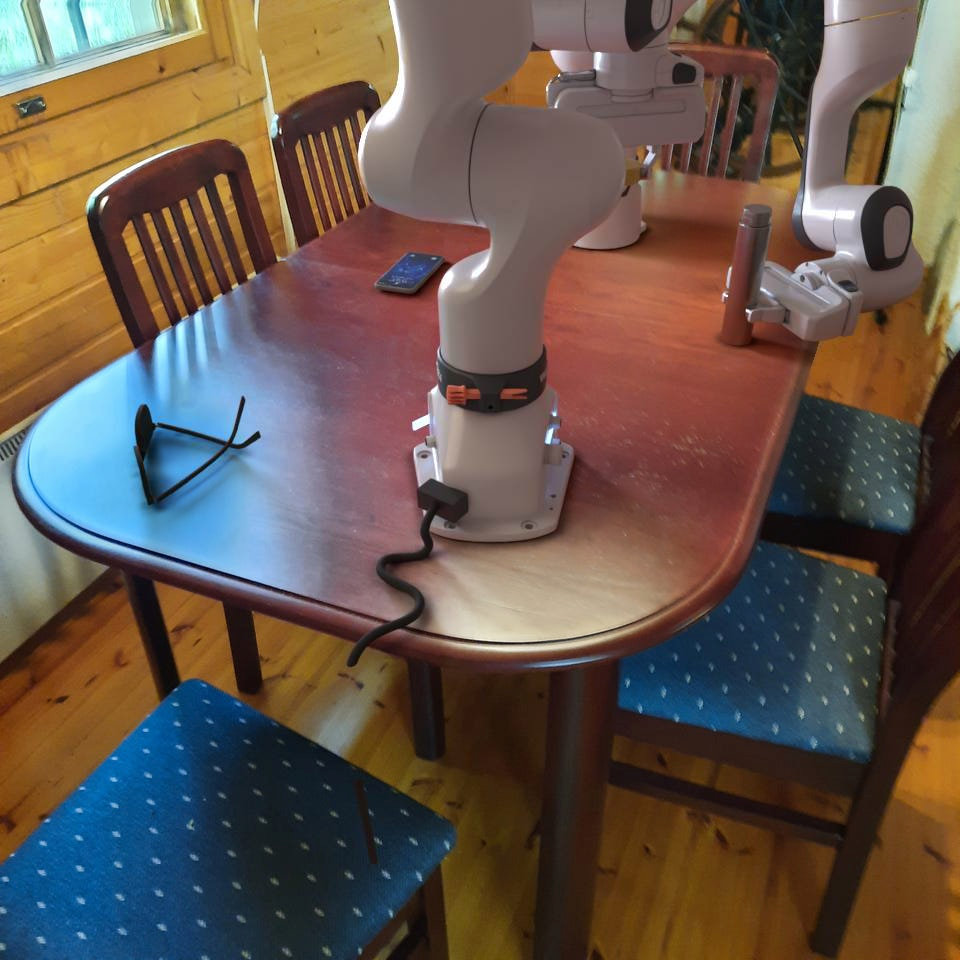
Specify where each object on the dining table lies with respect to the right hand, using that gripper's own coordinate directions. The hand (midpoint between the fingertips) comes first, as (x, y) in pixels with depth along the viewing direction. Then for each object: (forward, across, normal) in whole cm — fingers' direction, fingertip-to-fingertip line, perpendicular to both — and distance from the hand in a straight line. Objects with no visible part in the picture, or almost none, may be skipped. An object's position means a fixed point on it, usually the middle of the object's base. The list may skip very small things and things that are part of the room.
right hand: (735, 307), depth 120 cm
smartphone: (+36, -40, +5) cm, 54 cm away
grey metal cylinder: (-1, 0, +5) cm, 5 cm away
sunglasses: (+74, +2, +5) cm, 74 cm away
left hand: (+14, -10, -17) cm, 24 cm away
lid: (+14, -10, -18) cm, 25 cm away
